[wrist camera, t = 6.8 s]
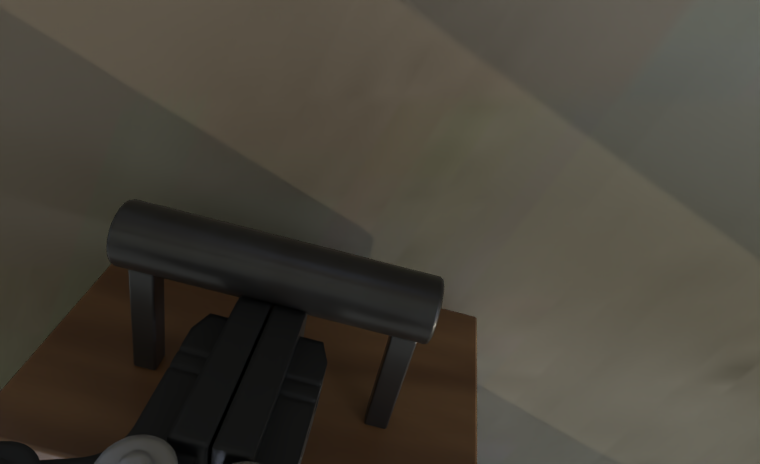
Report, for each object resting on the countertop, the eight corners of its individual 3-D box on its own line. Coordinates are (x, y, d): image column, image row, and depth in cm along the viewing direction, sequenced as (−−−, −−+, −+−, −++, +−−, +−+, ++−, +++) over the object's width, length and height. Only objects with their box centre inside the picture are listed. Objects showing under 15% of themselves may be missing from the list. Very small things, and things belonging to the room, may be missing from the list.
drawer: (133, 94, 16) (-97, 260, 10) (528, 195, 16) (564, 428, 10) (149, 463, 26) (44, 662, 20) (389, 524, 26) (361, 741, 20)
